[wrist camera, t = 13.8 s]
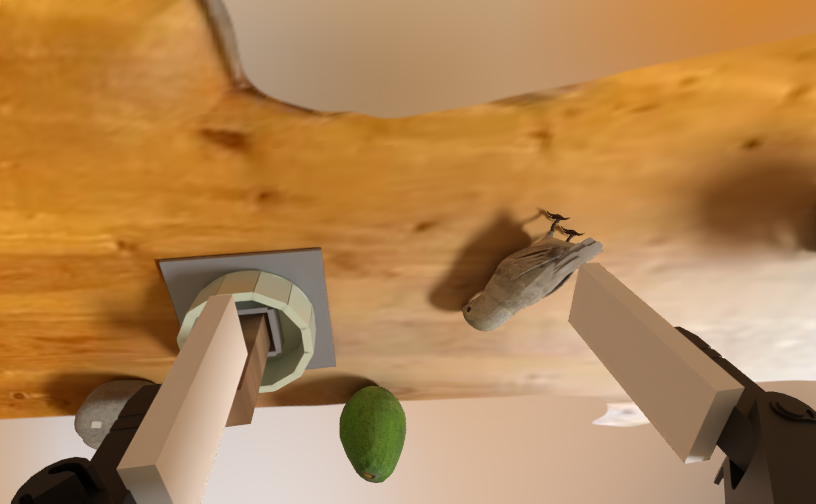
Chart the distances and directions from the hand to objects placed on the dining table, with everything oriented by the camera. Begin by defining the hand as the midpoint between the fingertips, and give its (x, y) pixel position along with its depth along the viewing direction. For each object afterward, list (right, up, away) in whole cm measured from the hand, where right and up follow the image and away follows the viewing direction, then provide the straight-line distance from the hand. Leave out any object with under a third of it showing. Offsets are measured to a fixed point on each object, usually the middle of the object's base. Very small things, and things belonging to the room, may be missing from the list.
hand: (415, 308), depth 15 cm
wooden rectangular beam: (-17, -6, +29) cm, 34 cm away
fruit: (-5, -17, +38) cm, 42 cm away
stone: (-32, -16, +34) cm, 49 cm away
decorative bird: (+12, +1, +32) cm, 34 cm away
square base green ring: (-17, -5, +30) cm, 35 cm away
